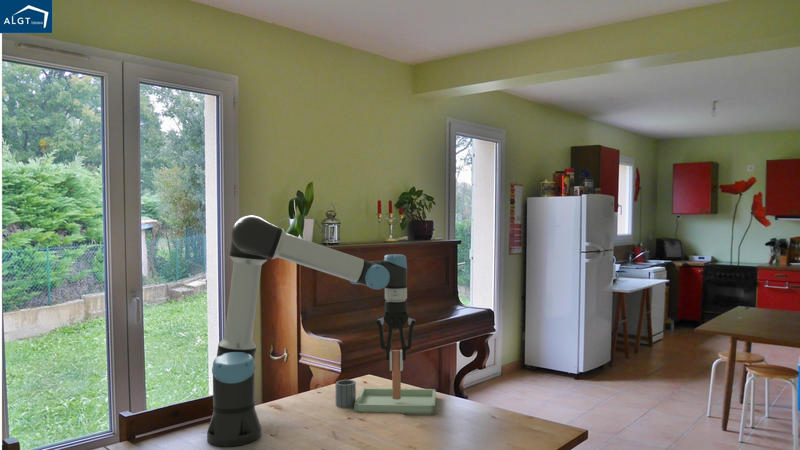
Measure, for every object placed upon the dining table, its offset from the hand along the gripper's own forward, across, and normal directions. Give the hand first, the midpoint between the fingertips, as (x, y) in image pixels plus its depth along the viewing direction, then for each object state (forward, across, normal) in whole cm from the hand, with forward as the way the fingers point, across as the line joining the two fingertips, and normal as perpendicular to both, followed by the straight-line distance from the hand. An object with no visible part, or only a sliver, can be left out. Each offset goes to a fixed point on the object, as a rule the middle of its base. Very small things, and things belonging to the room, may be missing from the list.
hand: (396, 369), depth 193 cm
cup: (+12, -17, -2) cm, 21 cm away
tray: (+12, 0, 0) cm, 12 cm away
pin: (+10, +1, 0) cm, 10 cm away
